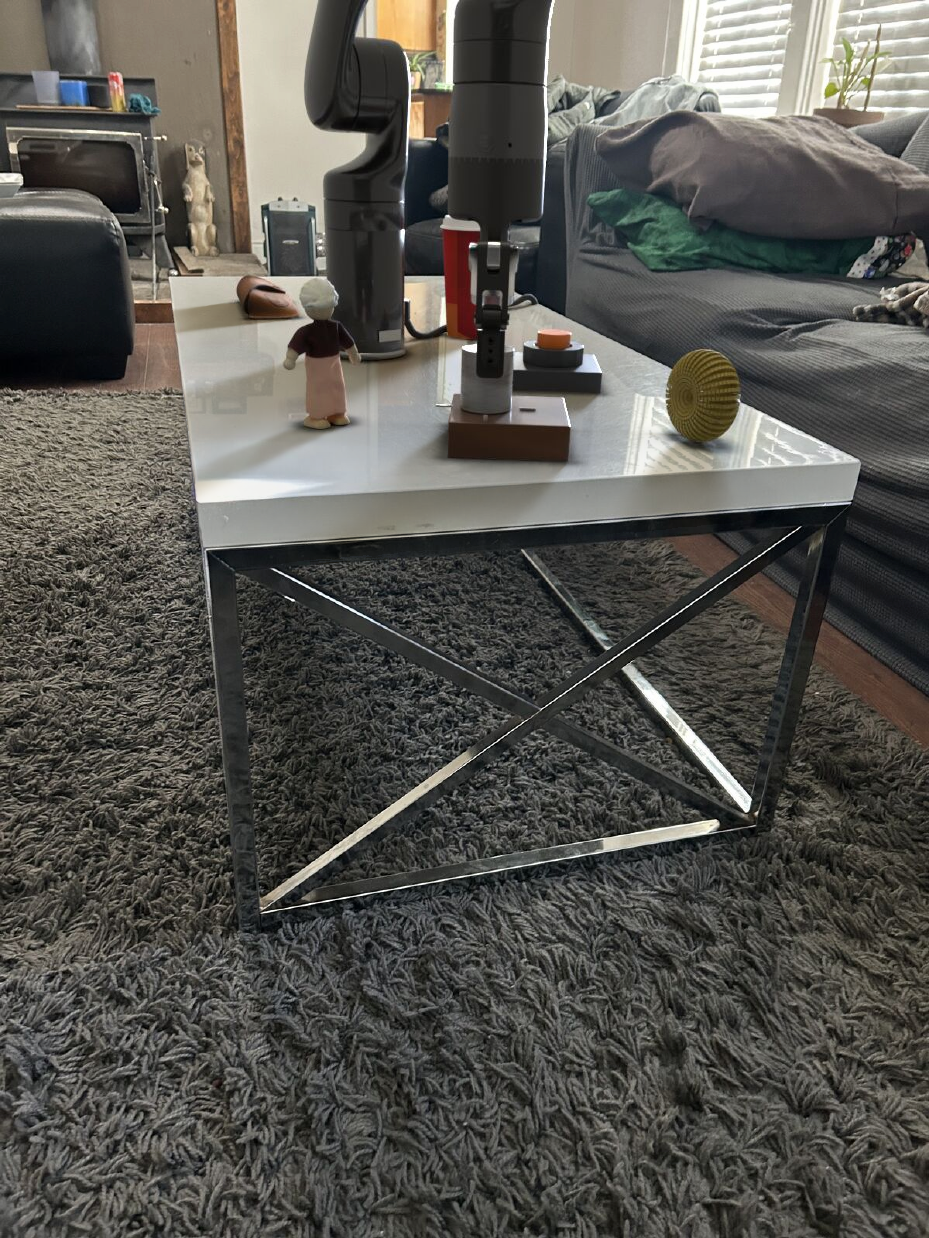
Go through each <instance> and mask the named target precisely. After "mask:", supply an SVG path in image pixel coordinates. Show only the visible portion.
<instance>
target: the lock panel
mask: <svg viewBox="0 0 929 1238" xmlns="http://www.w3.org/2000/svg"><path fill="white" fill-rule="evenodd" d="M460 400H461V393H453V396H452V401H451V404H449V403H444V404H443V403H436V404H435V407H436V408H450V411H449V416H448V420H447V421H448V422H447V425H448V426H447V458H459V459H484V460H485V459H487V460H511V461H512V460H513V461H537V462H539V461H540V462H541V461H542V462H569V456H570V455H569V454H570V443H571V429H572V427H571V422H570V419H569V414H568V411H567V405H566V402H565V398H564V397H561V396H559V397H558V396H557V397H556V396H531V395H512V406H511V410H509V411H507V412H504V413H497V414H481V413H473V412H469V411H465V410H463V409H462V408H461V407H460Z"/></svg>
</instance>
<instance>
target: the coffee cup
mask: <svg viewBox="0 0 929 1238" xmlns="http://www.w3.org/2000/svg"><path fill="white" fill-rule="evenodd" d="M439 227H440V229H442V245H443V246H442V247H443V248H442V249H443V275H444V276H443V277H444V301H445V302H444V303H445V322H446V323H445V325H447V332H446V336H447V337H450V338H454V339H459V340H477V329H476V324H474V312H475V313H476V305H475V304H473V303H472V302H471V271H470V270H469V246H470V244H478V240H479V233H480V226H479V224H478V223H477V222H475V221H463V220H456V219H453V218H451V217H450V216H449V214H446V215H445V216H444V218H443V220H442V224H441V225H439Z"/></svg>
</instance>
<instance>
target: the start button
mask: <svg viewBox="0 0 929 1238" xmlns="http://www.w3.org/2000/svg"><path fill="white" fill-rule="evenodd" d="M571 335H572V332H570V331H568V330H565V329H557V328H556V329H555V328H550V329H549V328H547V329H546V328H545V329H540V330H539V329H538V331H537V335H536V336H537V337H536V340H537V346H538V347H543V348H552V349H563V348H570V341H571V338H572V336H571Z"/></svg>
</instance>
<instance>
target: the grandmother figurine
mask: <svg viewBox="0 0 929 1238" xmlns="http://www.w3.org/2000/svg"><path fill="white" fill-rule="evenodd" d="M299 292H300V293H299V294H298V296H299V297H298V299H299V301H300V305H301V306H302V308H303V309H304V313H305V314H306V316H307V317H308V318H309V319H310V320H313V321H312V322H310V323H307V324H305V325H302V326H300V327H299V328H297V330H296V331H295V332H294V334H293V335H292V337H291V338H290V341H288V344H287V351H286V354H285V359H284V360H283V363H282V366H283V368H284V369H285V370H287V371H293V370H294V369H295V368H296V362H297V361H298V359H299V357H300V356H302V355H303V354H304V368H305V377H306V381H305V382H306V383H305V412H306V414H308V415H307V416H306V417H305V419H304V420H303V422H302V423H303V426H305V427H308V428H312V429H315V430H316V429H317V430H324V429H329V428H331V424H333V425H336V426H342V425H349V424H350V423H351V421H350V419H349V417H348V415H347V412H348V407H347V406H348V405H347V392H346V385H345V384H346V383H345V379H344V373H343V368H342V362H341V357H340V355H339V346H340V347H342V348H344V349H345V351H346V353H347V355H348V356H349V357H350V359H349V361H350V363H351V364H353V365H358V364H360V363H361V361H362V360H361V357H360V355H359V354H358V353H357V348H356V346H355V343H354V340H353V339H352V337H351V336H350V334H349V333H348V332H347V331H346V329H345V328H344V327H343V326H342V324H341V323H340V322H338V321H333V320H328V319H329V318H330V317H331V315H332V313H333V310H334V307H335V306H336V305H338V303H337V299H338V294H337V292H336V291H335V290H334V286H333V285H332V284H331V283H330V282H329V281H328V280H327V278H322V277H314V278H311V279H309V280H308V281H307V282H305V283H303V284H302V286H301V288H300V291H299Z"/></svg>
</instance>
